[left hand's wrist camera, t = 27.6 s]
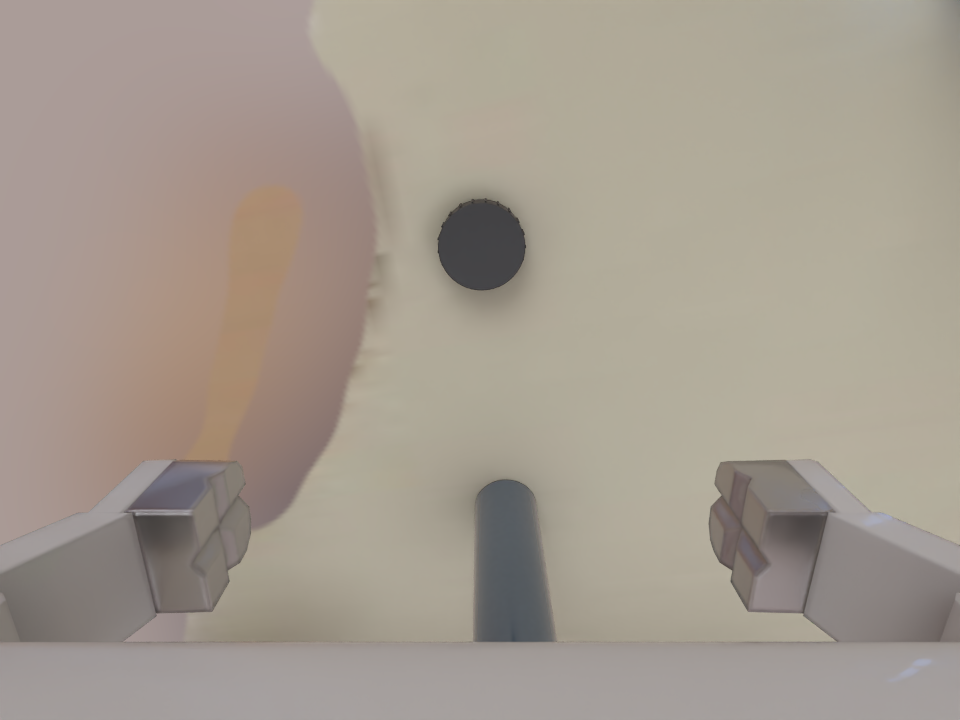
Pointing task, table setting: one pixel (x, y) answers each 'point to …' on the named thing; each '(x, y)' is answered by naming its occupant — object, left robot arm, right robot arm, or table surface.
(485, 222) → the lid
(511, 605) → the jar
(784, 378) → the table surface
